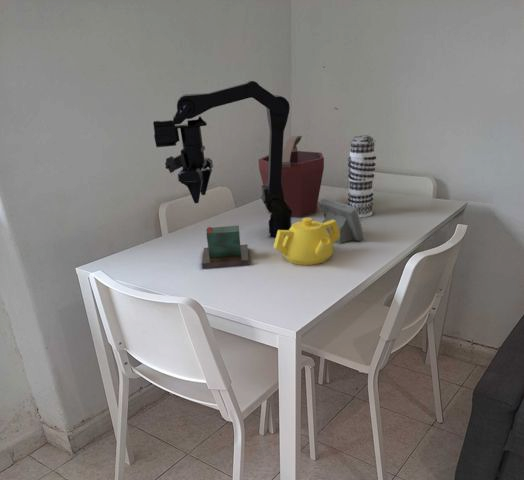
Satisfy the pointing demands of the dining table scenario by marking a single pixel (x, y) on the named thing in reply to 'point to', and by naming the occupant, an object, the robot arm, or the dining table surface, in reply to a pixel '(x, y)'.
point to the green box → (223, 241)
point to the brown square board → (225, 259)
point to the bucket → (298, 177)
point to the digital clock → (343, 220)
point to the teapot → (307, 241)
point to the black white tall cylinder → (361, 174)
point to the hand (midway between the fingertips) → (200, 199)
